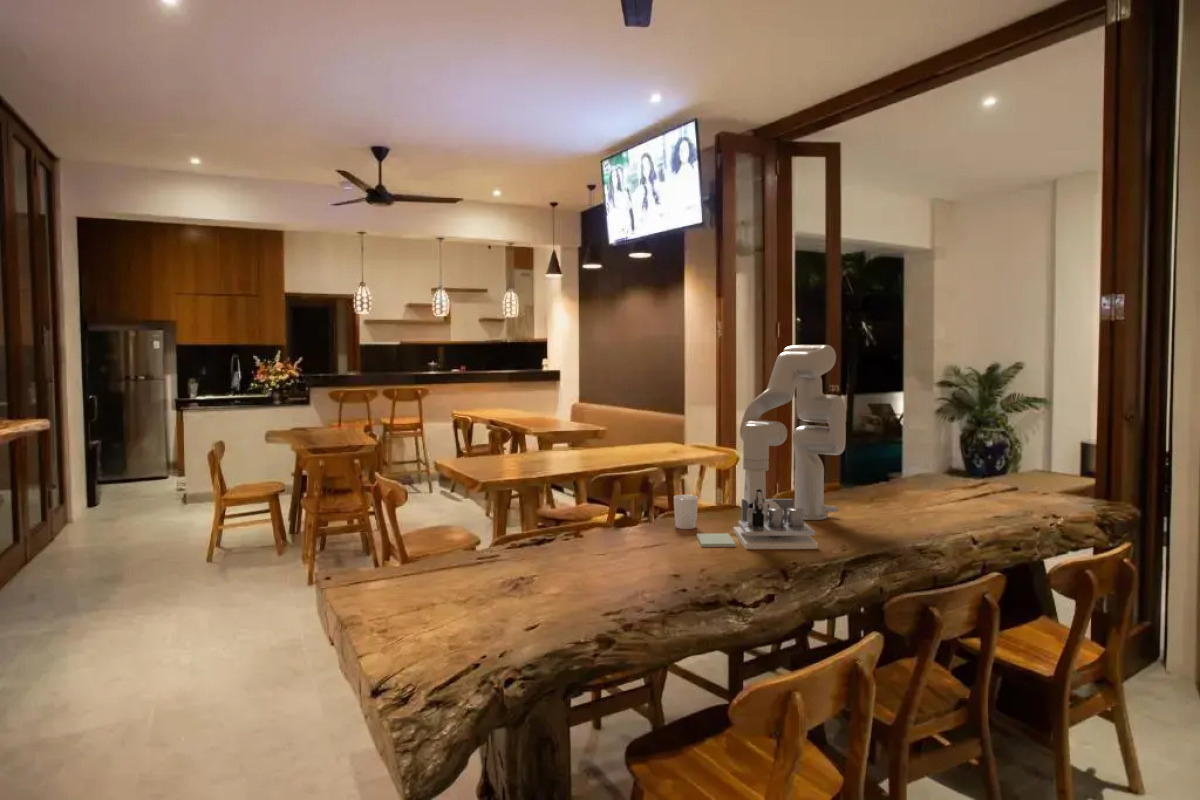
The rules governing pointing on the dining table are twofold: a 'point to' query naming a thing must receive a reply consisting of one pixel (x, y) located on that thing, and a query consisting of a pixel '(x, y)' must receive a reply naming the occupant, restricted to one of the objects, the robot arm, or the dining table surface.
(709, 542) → the green pad
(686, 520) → the white cup
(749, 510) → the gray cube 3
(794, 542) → the scale housing
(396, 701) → the dining table surface
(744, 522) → the scale pan
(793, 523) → the steel spacer
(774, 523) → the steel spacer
